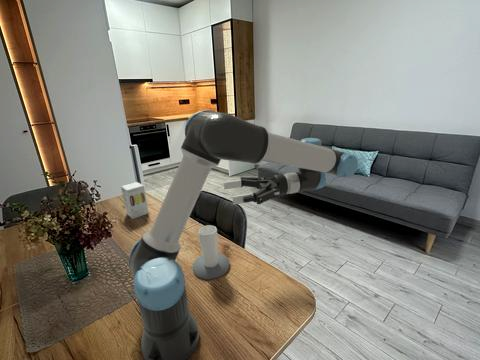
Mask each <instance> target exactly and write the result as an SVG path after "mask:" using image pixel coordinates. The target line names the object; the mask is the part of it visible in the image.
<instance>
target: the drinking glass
mask: <svg viewBox="0 0 480 360" xmlns="http://www.w3.org/2000/svg"><path fill="white" fill-rule="evenodd" d="M198 239H199V245H200V251H201V254H202V255H203V260H204V265H205V266H206V267H208V268H212V267H215V266H216V265H217V264H218V253H219V252H218V248H219V239H218V229H217V227H216V226H215V225H208V224H207V225H204V226H201V227H200V228H199V229H198ZM202 255H201V256H202Z"/></svg>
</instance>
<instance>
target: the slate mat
mask: <svg viewBox="0 0 480 360" xmlns="http://www.w3.org/2000/svg"><path fill="white" fill-rule="evenodd" d="M229 269H230V260H229V257H228V256H226V255H225V254H223V253H220V252H218V264H217V265H216V266H215V267H212V268H208V267H206V266H205V265H204V260H203V255H200V256H198V257H197V258H196V259H195V260H194V261H193V263H192V272H193V274H194V275H195V276H196V277H197V278H199V279H202V280H215V279H218V278H221V277H222V276H224V275H225V274H226V273H227V272H228V270H229Z"/></svg>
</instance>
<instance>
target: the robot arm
mask: <svg viewBox="0 0 480 360" xmlns="http://www.w3.org/2000/svg"><path fill="white" fill-rule="evenodd" d="M184 135H185V136H184V140H183V142H182V145H181V147H180V150H181V152H182V158H181V160H180V163H179V165H178V168H177V170H176V172H175V174H174V176H173V179H172V180H171V184H170V186H169V187H168V191H167V193H166V195H165V197H164V199H163V200H162V204H161V206H160V208H159V209H158V210H159V211H158V213H157V215H156V217H155V220H154V223H153V225H152V226H151V228H150V230H148V231H145V232H144V233H143V234H142V236H141V238H140V239H137V241H136V242H135V243H134V244H133V246H132V247H131V249H130V252H129V259H128V260H129V261H128V262H129V267H130V270H131V271H130V272H131V276H132V282H133V293H134V296H135V298H136V301H137V304H138V308H139V313H140V316H141V321H142V325H143V329H142V330H143V331H142V336H141V341H140V342H141V343H140V348H141V351H142V352H141V353H142V355H143V359H144V360H186V359H187V360H188V359H189V358H190V357H192V355H193V354H194V352H195V351H196V349H197V346H198V345H199V340H200V330H199V325H198V323H197V320H196V319H195V318H194V316H193V315H192V313H191V312H190V309H189V303H188V302H189V301H188V296H187V288H186V280H185V279H186V278H185V274H184V271H183V269H182V266H181V265H180V264H179V263H178V262H177V261H176V259H177V258H178V255H179V253H180V251H181V248H182V245H181V243H180V242H179V241H180V238H181V236H182V234H183V232H184V229H185V227H186V226H187V223H188V221H189V218H190V216H191V214H192V212H193V210H194V207H195V205H196V202H197V201H198V198H199V196H200V195H201V191H202V189H203V187H204V185H205V182H206V180H207V178H208V176H209V174H210V172H211V169H213V168H215V167H217V166H219V164H220V162H221V160H224V161H231V162H232V161H233V162H241V163H249V164H256V165H257V164H259V163H261V162H265V163H266V162H267V163H272V164H277V165H282V166H287V167H294V168H298V171H294V172H292V171H291V172H288V173H282V174H281V173H279V174H274V175H272V177H271V179H267V177H266V176H263V177H262V176H261V177H258V176H257V177H256V176H240V178H239V179H236V180H228V181H224V182H223V189H224V190H231V189H238V188H241V189H242V188H243V187H246V188H247V187H249V188H256V189H258V190H257V191H256V192H251V193H244V194H237V195H232V205H241V204H246V203H247V204H248V203H252V202H253V203H256V205H261V204H263V203H265V202H268V201H270V200H271V199H273V198H277V197H280V196H283V195H288V194H291V195H292V194H296V193H300V192H308V191H316V190H319V189H322V188H323V187H325V185H326V182H327V178H326V174H331V175H335V176H337V177H340V178H345V179H347V178H350V177H353V175H354V174H355V173H356V172H357V168H358V166H359V161H358V158H357V156H355V154H351V153H349V152H346V151H341V150H336V149H333V148H330V147H329V148H328V147H326V146H322V140H321V139H320V138H315V137H307V138H306V137H305V138H302V139H301V140H300V139H299V140H298V139H294V138H290V137H287V136H284V135H280V134H275V133H272V132H269V131H268V130H267V128H265V127H263V126H262V125H258V124H254V123H253V122H252V123H251V122H250V121H248V120H244V119H243V118H240V117H238V116H235V115H232V114H230V113H226V112H221V111H217V110H216V111H215V110H213V109H212V110H211V109H209V110H208V109H204V110H199V111H197V112H194V114H192V115H191V116H189V118H188V119H187V121H186V123H185V126H184Z"/></svg>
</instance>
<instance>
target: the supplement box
mask: <svg viewBox="0 0 480 360" xmlns="http://www.w3.org/2000/svg"><path fill="white" fill-rule="evenodd" d="M120 190H121V194H122V199H123V203H124V206H125V207H124V208H125V212H126V215H127V216H129V217H130V218H131V220H134V219H137V218H140V217H142V216H145V215H149V207H148V202H147V197H146V196H147V195H146V191H145V186H144V184H142V183H140V182H138V181H135V182H132V183H129V184H125V185H120Z"/></svg>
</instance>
